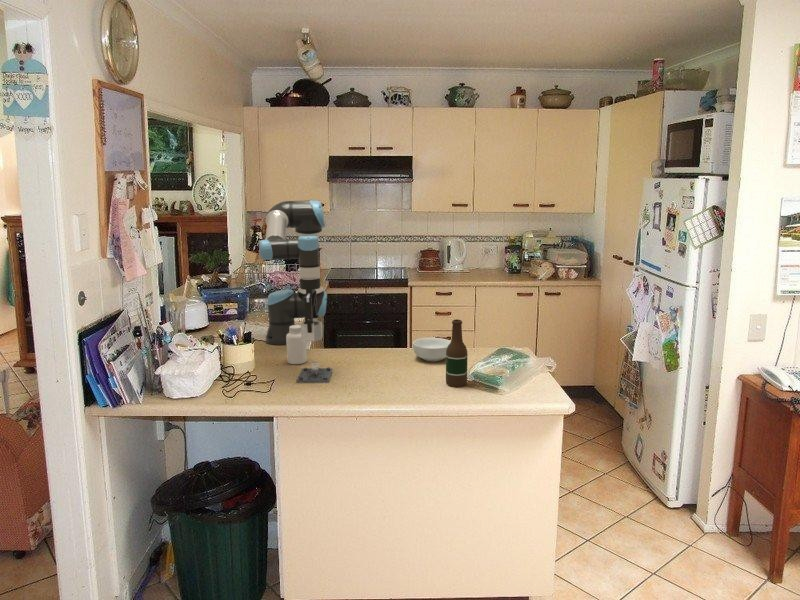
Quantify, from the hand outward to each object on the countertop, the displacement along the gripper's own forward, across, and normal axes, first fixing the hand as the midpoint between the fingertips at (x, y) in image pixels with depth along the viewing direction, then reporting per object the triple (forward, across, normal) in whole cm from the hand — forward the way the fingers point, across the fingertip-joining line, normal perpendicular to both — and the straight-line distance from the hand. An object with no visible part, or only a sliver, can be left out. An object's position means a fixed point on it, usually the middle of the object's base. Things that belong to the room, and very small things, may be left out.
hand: (312, 337), depth 239 cm
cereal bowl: (+16, -23, +46) cm, 54 cm away
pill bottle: (+15, -19, -10) cm, 26 cm away
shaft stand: (+15, 0, +1) cm, 15 cm away
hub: (0, 0, 0) cm, 0 cm away
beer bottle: (+16, +9, +54) cm, 57 cm away
